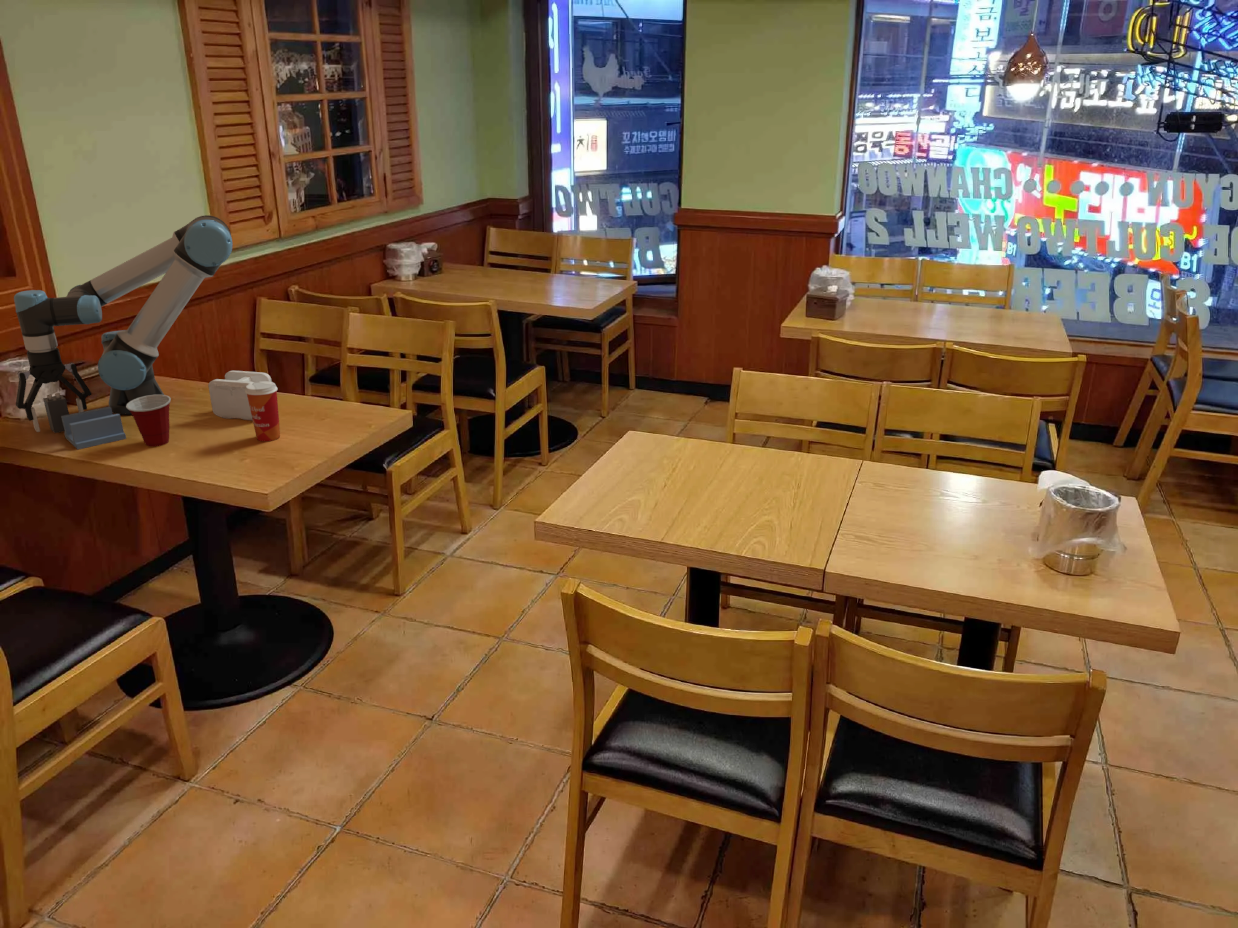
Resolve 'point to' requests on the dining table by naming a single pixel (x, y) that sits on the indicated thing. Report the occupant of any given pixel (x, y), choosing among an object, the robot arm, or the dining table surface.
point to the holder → (93, 427)
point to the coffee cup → (264, 410)
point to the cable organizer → (234, 393)
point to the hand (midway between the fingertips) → (60, 425)
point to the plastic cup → (152, 418)
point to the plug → (56, 411)
